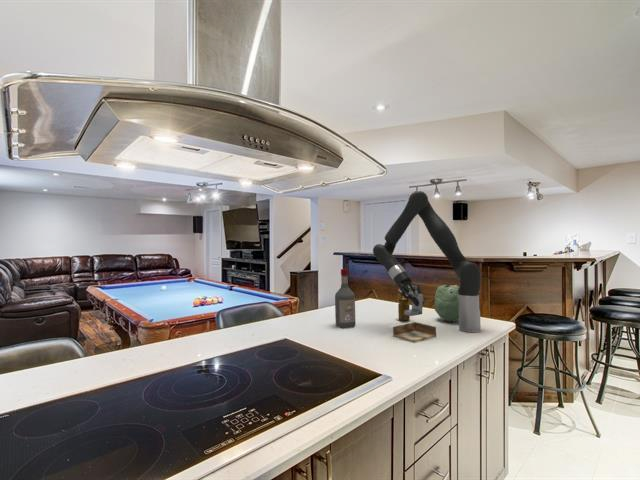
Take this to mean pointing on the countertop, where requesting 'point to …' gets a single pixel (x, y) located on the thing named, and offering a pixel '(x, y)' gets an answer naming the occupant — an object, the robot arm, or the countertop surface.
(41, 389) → the countertop surface
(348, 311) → the liquor
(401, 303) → the condiment
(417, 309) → the bracket
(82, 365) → the countertop surface
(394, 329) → the walls
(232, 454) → the countertop surface
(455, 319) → the green rounded lump
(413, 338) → the tray
